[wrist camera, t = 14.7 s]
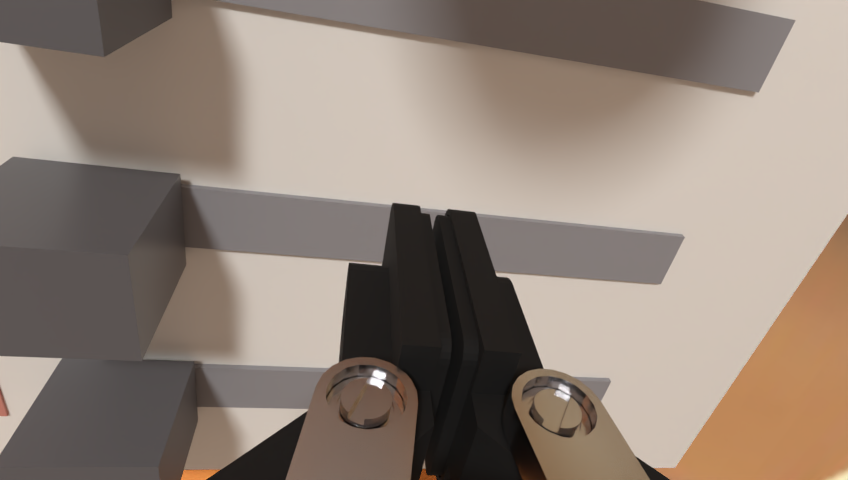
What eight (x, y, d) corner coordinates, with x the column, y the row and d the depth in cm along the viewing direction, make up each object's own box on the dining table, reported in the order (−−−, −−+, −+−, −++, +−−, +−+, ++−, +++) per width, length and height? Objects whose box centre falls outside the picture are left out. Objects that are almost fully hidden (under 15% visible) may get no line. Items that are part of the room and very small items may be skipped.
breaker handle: (180, 174, 14) (127, 255, 11) (186, 264, 15) (141, 361, 12) (12, 156, 13) (-102, 238, 10) (36, 254, 15) (-55, 354, 11)
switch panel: (984, -102, 15) (1335, -112, 10) (654, 433, 27) (730, 560, 22) (-449, -516, 9) (-1733, -1217, 3) (-48, 425, 21) (-185, 603, 15)
